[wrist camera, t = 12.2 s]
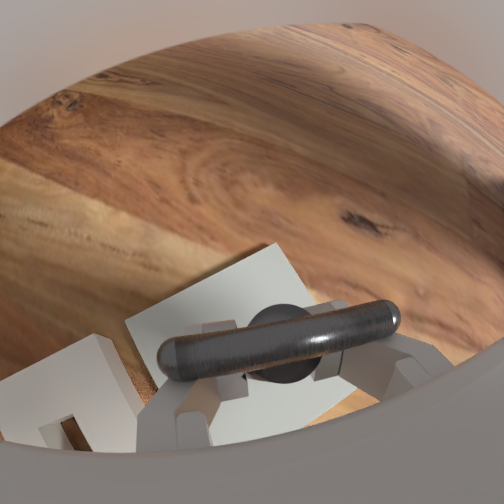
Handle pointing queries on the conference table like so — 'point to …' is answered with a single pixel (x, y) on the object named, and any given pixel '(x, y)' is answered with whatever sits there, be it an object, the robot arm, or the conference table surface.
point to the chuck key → (277, 343)
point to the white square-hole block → (73, 399)
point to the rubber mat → (242, 311)
